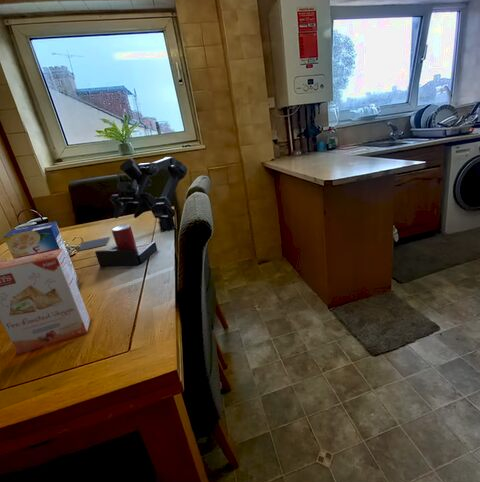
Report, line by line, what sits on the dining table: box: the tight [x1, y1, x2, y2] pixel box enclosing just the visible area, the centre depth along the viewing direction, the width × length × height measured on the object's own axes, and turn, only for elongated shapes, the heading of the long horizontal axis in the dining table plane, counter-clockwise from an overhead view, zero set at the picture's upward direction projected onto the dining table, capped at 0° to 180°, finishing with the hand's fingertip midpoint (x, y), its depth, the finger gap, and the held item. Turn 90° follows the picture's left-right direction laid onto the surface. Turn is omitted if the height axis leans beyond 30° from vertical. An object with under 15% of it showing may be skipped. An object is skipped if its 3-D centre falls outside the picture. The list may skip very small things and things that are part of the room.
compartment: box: [94, 241, 158, 268], centre depth 105 cm, size 13×16×7 cm
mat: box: [77, 236, 110, 252], centre depth 127 cm, size 11×11×1 cm
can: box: [111, 224, 139, 254], centre depth 104 cm, size 6×6×12 cm
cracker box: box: [0, 249, 91, 355], centre depth 63 cm, size 14×6×21 cm, turn 114°
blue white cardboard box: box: [3, 220, 80, 287], centre depth 83 cm, size 7×11×22 cm, turn 116°
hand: (125, 217), depth 110 cm, fingers open, 9 cm apart
